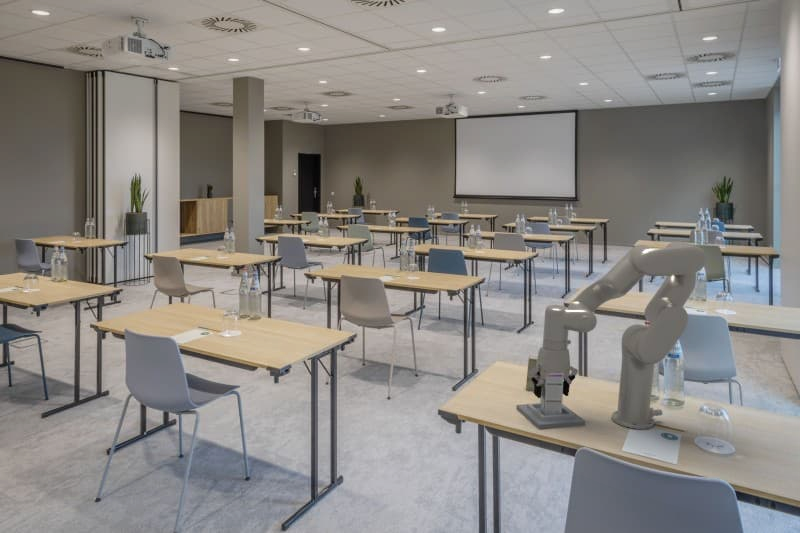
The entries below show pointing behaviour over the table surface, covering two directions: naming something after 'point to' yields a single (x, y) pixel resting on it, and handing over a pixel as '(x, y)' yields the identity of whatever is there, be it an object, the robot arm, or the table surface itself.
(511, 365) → the table surface
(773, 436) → the table surface
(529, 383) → the skincare box
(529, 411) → the socket plate
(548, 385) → the syrup box
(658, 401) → the table surface
